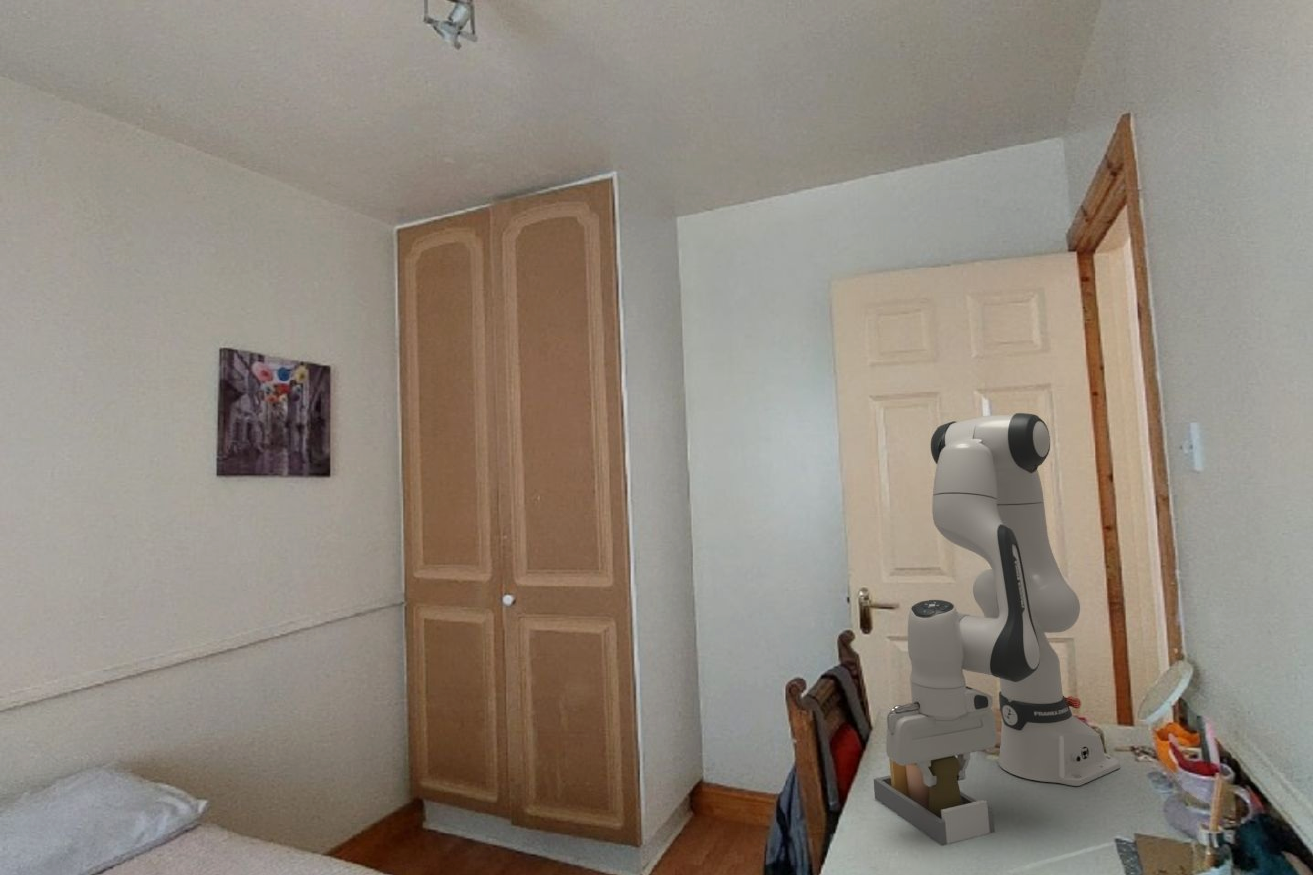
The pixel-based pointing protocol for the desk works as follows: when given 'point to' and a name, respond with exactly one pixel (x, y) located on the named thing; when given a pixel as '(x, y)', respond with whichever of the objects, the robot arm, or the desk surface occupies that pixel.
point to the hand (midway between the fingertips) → (944, 781)
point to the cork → (944, 785)
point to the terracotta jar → (917, 786)
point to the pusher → (899, 777)
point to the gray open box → (949, 829)
